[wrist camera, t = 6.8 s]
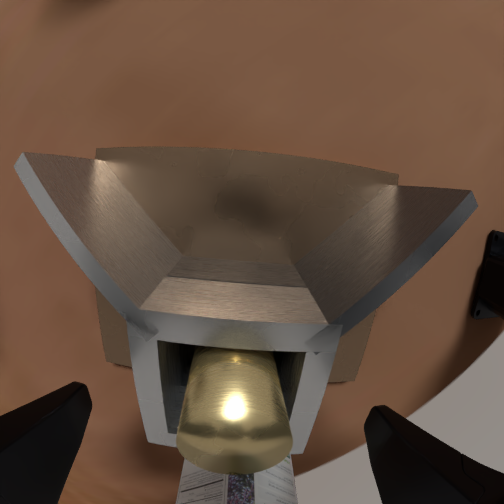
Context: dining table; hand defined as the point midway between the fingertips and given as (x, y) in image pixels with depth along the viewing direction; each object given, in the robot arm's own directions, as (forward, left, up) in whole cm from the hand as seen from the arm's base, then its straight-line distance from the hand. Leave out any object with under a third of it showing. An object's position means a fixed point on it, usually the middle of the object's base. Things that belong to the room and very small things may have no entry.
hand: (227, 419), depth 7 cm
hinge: (0, -2, -8) cm, 8 cm away
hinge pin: (0, 0, -7) cm, 7 cm away
